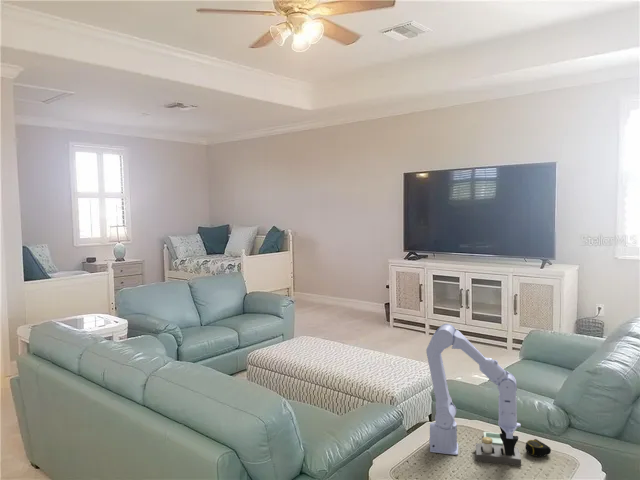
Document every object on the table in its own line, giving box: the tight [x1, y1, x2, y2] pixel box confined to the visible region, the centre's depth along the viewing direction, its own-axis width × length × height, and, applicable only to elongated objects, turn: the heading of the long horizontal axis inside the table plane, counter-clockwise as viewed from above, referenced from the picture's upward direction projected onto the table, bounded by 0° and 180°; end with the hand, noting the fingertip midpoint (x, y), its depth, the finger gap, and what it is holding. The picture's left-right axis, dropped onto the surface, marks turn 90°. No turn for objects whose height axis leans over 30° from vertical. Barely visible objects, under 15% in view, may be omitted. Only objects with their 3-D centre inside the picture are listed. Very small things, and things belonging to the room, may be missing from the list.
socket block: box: [475, 443, 522, 467], centre depth 164 cm, size 14×8×2 cm, turn 73°
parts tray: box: [483, 431, 503, 446], centre depth 174 cm, size 10×8×2 cm
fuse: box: [481, 436, 492, 454], centre depth 165 cm, size 3×3×6 cm
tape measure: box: [525, 438, 552, 458], centre depth 166 cm, size 7×7×4 cm
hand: (508, 449), depth 163 cm, fingers open, 7 cm apart
